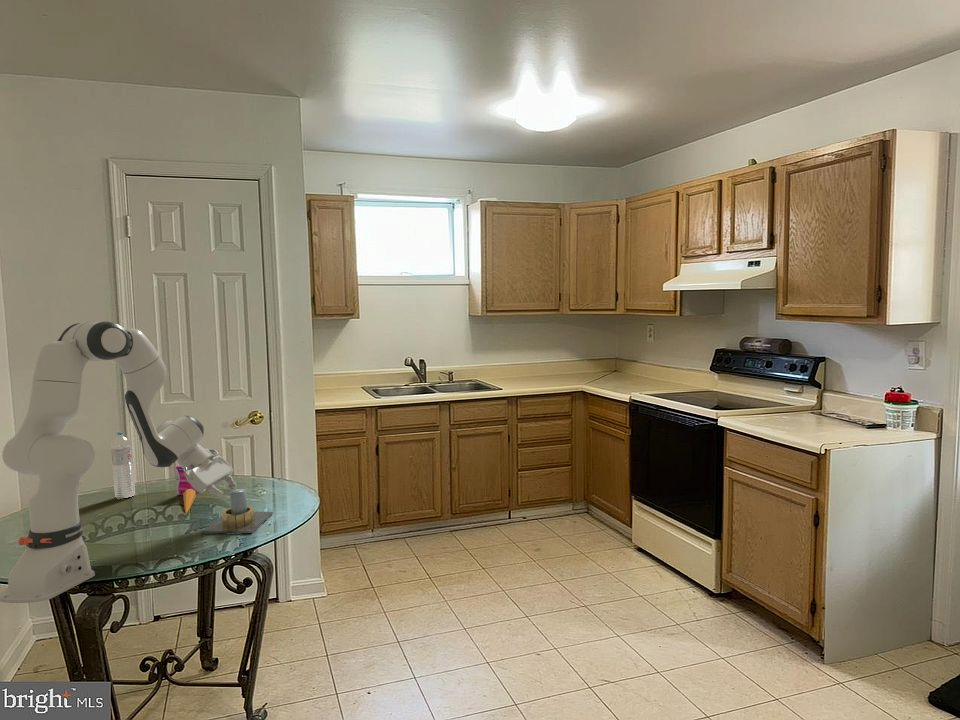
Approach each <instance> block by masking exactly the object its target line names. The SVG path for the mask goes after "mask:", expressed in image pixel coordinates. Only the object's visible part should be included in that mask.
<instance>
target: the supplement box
mask: <svg viewBox="0 0 960 720" xmlns="http://www.w3.org/2000/svg"><path fill="white" fill-rule="evenodd" d="M174 471H175V484H176V495H183V493H184V492H185V491H186V490H187V489H192V490H194V491H195V492H196V493H197V492H198V491H196V490H195V489H194V488H193V487H192V485H191V484H190V483H189V482H188V481H187V479H186V476H185V475H184V469H183V468H182V467H181V466H180V465H179V464H178V465H175V466H174ZM197 494H198V493H197Z"/></svg>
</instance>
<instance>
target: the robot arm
mask: <svg viewBox="0 0 960 720" xmlns="http://www.w3.org/2000/svg"><path fill="white" fill-rule="evenodd" d="M111 360H113V361H114V362H116V364H117V365H118V367H119V369H120V370H121V372H122V374H123V375H124V377H125V381H126V393H124V401H125V404H126V408H127V410H128V413H129V415H130V417H131V420H132V423H133V426H134V427H135V430H136V432H137V435H138V438H139V441H140V443H141V448H142V451H143V454H144V456H145V458H146V460H147V462H148V463H149V464H150V465H151V466H153V467H155V468H168V467H171V466H172V465H174V463H175V462H177V464H178V465H180V466H181V467H182V468H183V469H184V475H185V476H186V479H187V481H188V482H189V483H190V484H191V485H192V487H193V488H194V489H195V490H196V491H198V492H199V493H201V494H202V493H204V492H205V491H208V493H211V494H213V495H215V496H216V497H218V498H219V499H220V498H222V496H223V495H225V492H224V491H223V490H222V489H219V488H217V487H216V485H217V484H218V483H220V482H222V481H224V483H225V482H226V483H227V485H228V487H229V488H230V489H231V490H234V489H235V488H236V487H237V486H238V485H237V483H236V482H235V481H234V478H233V477H232V475H231V474H232V473H233V472H234V469H233V467H232V465H231V464H230V463H229V462H228V461H227V460H226V459H225V458H224V457H223V456H221V455H219V454H220V453H219V452H218V450H216V449H215V448H211V449H210V448H206V447H205V448H204V447H203V446H202V445H200V444H199V443H198V442H200V440H202V438H203V437H204V434H205V429H204V426H203V424H202V422H200V420H198V419H197V418H196V417H194V416H191V415H183V416H181V417H179V418H177V419H176V420H175V419H174V420H166V421H164V422H163V423H161V424H160V425H159V426H157V428H156V426H155V423H154V421H153V418H152V416H151V413H150V412H151V410H150V409H151V405H152V402H153V400H154V399H155V397H156V396H157V395H158V392H159V391H160V390H161V389H162V387H163V386H164V384H165V382H166V379H167V376H168V375H167V373H168V372H167V371H168V370H167V366H166V365H165V362H164V361H163V359H162V357H161V355H160V354H159V352H158V351H157V349H156V347H155V346H154V344H152V342H151V341H150V339H148V337H147V336H146V335H145V334H144V333H143V332H142V331H141V330H140V329H137V328H133V327H132V328H124V327H123V326H121V325H119V324H118V323H115V322H112V321H107V320H106V321H104V320H103V321H97V320H95V321H94V320H93V321H85V322H80V323H74V324H72V325H70V326H68V327H66V328H65V329H64V330H63V331H62V333H61V334H60V336H59V338H58V339H57V340H55V341H50V342H47V343H45V344H44V345H43V346H42V347H41V348H40V351H39V353H38V357H37V360H36V362H35V367H34V371H33V376H32V384H31V391H30V392H31V393H30V398H29V405H28V410H27V412H26V415H25V418H24V420H23V422H22V423H21V426H20V427H19V430H18V431H17V432H16V434H15V435H14V436H13V437H12V438H10V439H9V440H8V441H7V443H5V445H4V447H3V448H2V449H3V450H2V456H1V457H2V460H3V464H5V466H6V467H7V468H9V469H11V470H13V471H14V472H17V473H20V474H23V475H32V476H38V477H39V482H38V487H37V491H36V492H35V494H33V495H32V496H31V497H30V499H29V500H28V503H27V505H28V507H27V508H28V516H29V526H30V529H29V531H28V534H27V537H25V536H21V537H19V538H18V545H20V546H26V549H25V550H24V551H23V553H22V554H21V556H20V557H19V558H18V560H17V562H16V563H15V564H14V566H13V567H12V569H11V570H10V571H9V573H8V576H7V577H8V580H7V588H6V589H4V590H3V591H1V593H0V603H7V604H28V603H31V604H32V603H38V602H44V601H48V600H52V599H53V598H55V597H56V596H59V595H60V594H62V593H63V594H64V593H65V592H67V591H68V590H71V589H72V588H74V587H76V586H78V585H80V584H82V583H84V582H86V581H88V580H89V579H91V578H93V577H95V576H96V573H95V570H93V569H92V567H91V566H92V565H91V562H90V556H89V551H88V547H87V545H86V544H85V541H84V539H83V537H82V535H83V534H84V533H83V525H82V524H83V523H82V520H80V511H79V510H80V509H79V490H80V485H81V481H82V479H83V477H84V476H85V474H86V473H87V472H88V471H90V469H91V468H92V467H93V464H94V462H95V453H96V451H95V448H94V447H93V445H92V444H91V442H89V441H87V440H85V439H83V438H81V437H77V436H75V435H67V434H63V431H64V430H65V427H66V425H67V423H68V422H69V421H70V420H71V419H72V418H74V417H75V416H76V415H77V414H78V411H79V406H80V399H81V391H82V380H83V372H84V369H85V366H86V365H87V364H88V362H89V361H90V362H101V361H102V362H103V361H111Z"/></svg>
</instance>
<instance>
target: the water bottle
mask: <svg viewBox="0 0 960 720" xmlns="http://www.w3.org/2000/svg"><path fill="white" fill-rule="evenodd" d="M116 434H117V435H116V437H114V438H113V440H112V441H111V443H110V449H111V451H110V452H111V461H112V464H111V467H112V478H113V479H112V480H113V488H114V498H115V497H116V498H128V497H132V496H134V495H135V496H136V486H135V471H134V462H133V454H132V452H133V451H132V441H131V440H130V439H129V438H128V437H126V436H124V431H117V432H116ZM135 496H134V497H135ZM116 498H115V499H116ZM132 498H133V497H132Z"/></svg>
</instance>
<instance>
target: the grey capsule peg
mask: <svg viewBox="0 0 960 720" xmlns="http://www.w3.org/2000/svg"><path fill="white" fill-rule="evenodd" d="M229 499H230V508H231V514H242V513H245V512H248V509H247V506H248V497H247V489H246V488H237V489H231V490H230V491H229Z"/></svg>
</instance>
